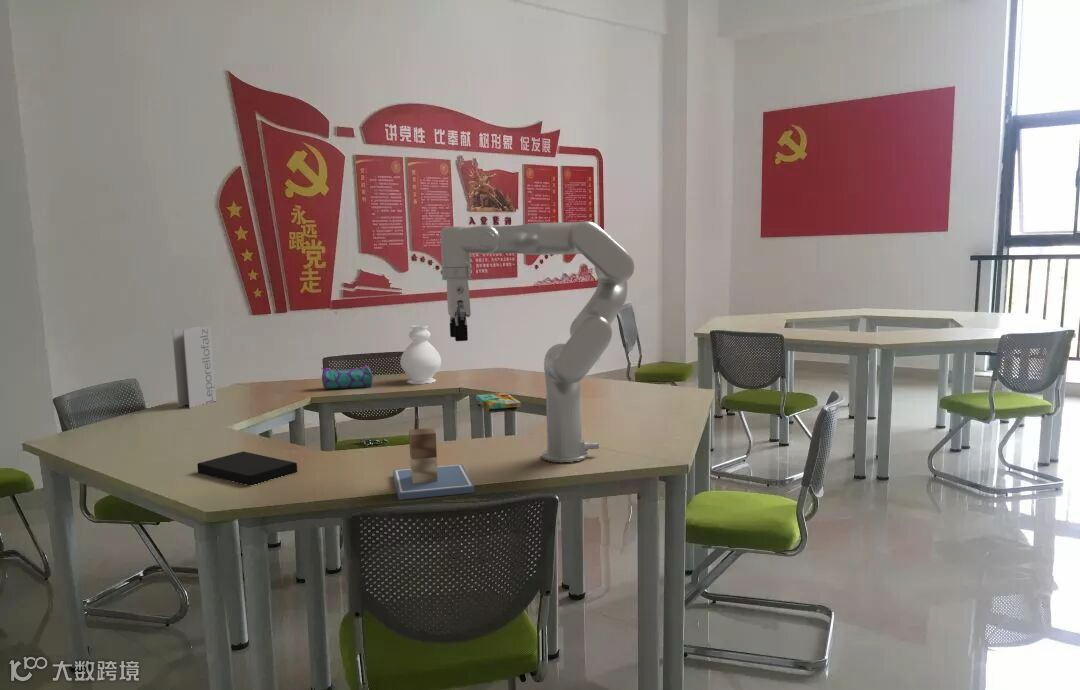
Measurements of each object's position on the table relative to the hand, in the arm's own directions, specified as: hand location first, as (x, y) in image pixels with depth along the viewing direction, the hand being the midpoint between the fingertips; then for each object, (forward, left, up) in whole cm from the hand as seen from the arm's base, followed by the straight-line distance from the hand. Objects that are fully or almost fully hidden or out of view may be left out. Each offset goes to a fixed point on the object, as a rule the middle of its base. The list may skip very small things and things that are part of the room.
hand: (458, 338), depth 205 cm
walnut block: (+12, +15, -27) cm, 33 cm away
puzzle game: (-23, -70, -35) cm, 81 cm away
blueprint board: (+10, +15, -34) cm, 39 cm away
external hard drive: (+56, -11, -35) cm, 67 cm away
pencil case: (+30, -134, -35) cm, 142 cm away
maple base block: (+12, +15, -33) cm, 38 cm away
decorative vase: (-2, -138, -34) cm, 142 cm away
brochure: (+87, -118, -34) cm, 151 cm away
